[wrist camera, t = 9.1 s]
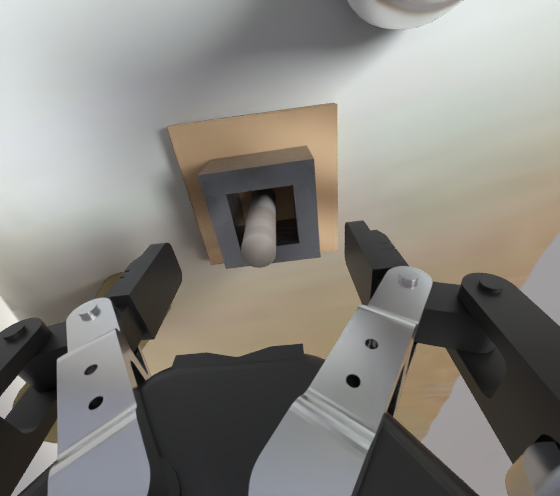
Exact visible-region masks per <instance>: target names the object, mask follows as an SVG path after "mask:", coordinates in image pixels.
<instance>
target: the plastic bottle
mask: <svg viewBox="0 0 560 496" xmlns="http://www.w3.org/2000/svg"><path fill="white" fill-rule="evenodd" d="M347 1H348V3H349V5H350V7H351V8H352V9H353V10H354V11H355V12H356V13H357V15H358V16H359V17H360V18H362V19H363V20H365V21H366V22H368V23H369V24H371V25H374V26H377V27H380V28H386V29H401V30H403V29H410V28H417V27H420V26H422V25H425V24H428V23H430V22H432V21H434V20H436V19H437V18H439V17H441V16H442V15H444V14H445V13H447V12H448V11H450V10H451V9H452V8H454V7H455V6H456V5H458V4H459V3H461V2H462V1H463V0H347Z"/></svg>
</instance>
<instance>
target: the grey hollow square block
mask: <svg viewBox="0 0 560 496" xmlns="http://www.w3.org/2000/svg"><path fill="white" fill-rule="evenodd" d="M198 179H199V182H200V185H201V188H202V192H203V195H204V198H205V202H206V205H207V208H208V211H209V215H210V218H211V221H212V224H213V228H214V231H215V234H216V238H217V241H218V244H219V247H220V251H221V254H222V257H223V261H224V264H225V267H226V269H228V268H236V267H244V266H250V265H248V264H247V263H245V262H244V260H243V259H242V257H241V246H242V242H243V237H244V232H245V227H246V223H245V218H244V214H243V210H242V205H241V201H240V197H239V192H247V191H254V190H261V189H268V188H276V187H283V186H290V185H292V192H293V201H294V209H295V218H293V219H286V220H278V221H276V257H275V259H274V261H273V262H272V263H277V262H285V261H294V260H302V259H310V258H318V257H320V241H319V226H318V210H317V195H316V179H315V164H314V157H313V156H312V154H311V152H310V150H309V148H308V147H307V145H305V146H299V147H292V148H285V149H278V150H271V151H265V152H258V153H251V154H244V155H237V156H230V157H224V158H217V159H211V161H210V162H209V163H208V164H207V165H206V166H205V167H204V168H203V170H202V171H201V172H200V173H199V174H198Z"/></svg>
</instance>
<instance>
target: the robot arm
mask: <svg viewBox="0 0 560 496" xmlns="http://www.w3.org/2000/svg"><path fill="white" fill-rule="evenodd" d="M345 261H346V265H347V268H348V270H349V273H350V275H351V278H352V280H353V282H354V285H355V287H356V290H357V292H358V295H359V297H360V300H361V302H362V304H361V305H360V306H359V307H358V309H357V310H356V312H355V313H354V315H353V317H352V318H351V320H350V322H349V323H348V325H347V326H346V328H345V330H344V331H343V333H342V334H341V336H340V338H339V339H338V341H337V343H336V344H335V346H334V347H333V349H332V351H331V352H330V354H329V355H328V357H327V359H326V360H324V359H322V358H319V357H317V356H313V355H309V354H304V351H303V344H294V345H283V346H272V347H268V348H265V349H262V350H259V351H256V352H253V353H250V354H247V355H243V356H240V357H232V356H225V355H219V354H212V353H197V354H187V355H176V357H175V360H174V362H173V365H172V367H170V368H167V369H165V370H163V371H160V372H159V373H157V374H155V375H153V376H151V374H150V371H149V368H148V366H147V363H146V360H145V358H144V355H143V352H142V350H141V348H140V347H139V343H140V341H141V340H151V339H155V336H156V334H157V332H158V330H159V328H160V326H161V324H162V322H163V320H164V318H165V316H166V313H167V311H168V309H169V307H170V305H171V303H172V301H173V299H174V297H175V295H176V293H177V291H178V288H179V286H180V284H181V282H182V272H181V269H180V266H179V264H178V261H177V259H176V256H175V254H174V251H173V249H172V246H171V245H170V244H169V243H160V244H151V245H150V246H149V247H148V248H147V249H146V251H145V252H144V253H143V254H142V256H140V257H139V258H138V259H136V260H135V261H133V262H132V263H131V264H130V265H129V266H128V267H127V269H126V270H125V272H123V274H122V275H121V276H120V279H118V280H117V281H116V282H115V283H114V285H113V286H112V287H111V288H110V289H109V291H108V292H107V293H106V294H105V296H104V297H103V298H97V299H94V300H91V301H88V302H86V303H84V304H82V305H80V306H79V307H77V308H76V309H75V310H74V311H73V312H72V313H71V314H70V315H69V316H68V318H67V320H66V321H65V322H62V323H59V324H56V325H53V326H49V327H47V326H46V325H45V324H44V323H43V322H42V320H41V319H39V318H29V319H25V320H22V321H20V322H17V323H15V324H13V325H11V326H9V327H8V328H6V329H5V330H3V331H2V332H0V396H1V395H2V393H3V392H4V391H5V390H6V389H7V388H8V386H9V385H10V384H11V383H12V381H13V380H14V379H15V378H16V376H18V375H19V376H20V377H21V378H22V379H23V380H24V381H25V382H26V383H28V384H29V385H30V387H29V388H28V389H27V390H26V392H25V393H24V394H23V396H22V397H21V398H20V400H19V401H18V402H17V404H16V405H15V406H14V407H13V409H12V410H11V411H10V413H9V414H8V415H7V417H6V418H5V419H3V418H1V417H0V496H11V494H12V492H13V491H14V489H15V487H16V486H17V484H18V483H19V481H20V479H21V478H22V476H23V474H24V473H25V471H26V469H27V468H28V466H29V464H30V463H31V461H32V459H33V458H34V456H35V454H36V453H37V451H38V450H39V448H40V446H41V445H42V443H43V441H44V440H45V438H46V436H47V435H48V433H49V431H50V430H51V428H52V426H53V425H54V423H55V421H56V420H57V432H58V456H57V460H56V461H55V462H54V463H53V464H52V465H51V466H50V467H48V468H47V469H46V470H45V471H44V472H43V473H42V474H41V475H39V476H38V477H37V478H36V479H35V480H34V481H33V482H32V483H31V484H30V485H28V486H27V487H26V488H25V489H24V490H23V491H22V492H21V493H20V494H19V495H17V496H479V495H478V494H477V493H475V492H474V490H472V489H471V488H470V487H469V486H468V485H467V484H466V483H465V482H464V481H463V480H462V479H460V478H459V477H458V476H457V475H456V474H455V473H454V472H452V471H451V470H450V469H449V468H448V467H447V466H446V465H445V464H444V463H443V462H442V461H441V460H440V459H439V458H437V457H436V456H435V455H434V454H433V453H432V452H431V451H430V450H428V448H426V447H425V446H424V445H423V444H422V443H421V442H420V441H419V440H418V439H417V438H416V437H414V436H413V435H412V434H411V433H410V432H409V431H408V430H407V429H406V428H405V427H403V426H402V425H401V424H400V423H399V422H398V421H397V420H396V419H395V418H394V416H395V413H396V410H397V407H398V404H399V400H400V397H401V393H402V390H403V387H404V383H405V380H406V377H407V374H408V371H409V368H410V365H411V362H412V359H413V356H414V353H415V351H416V348H417V345H418V343H422V344H428V345H433V346H439V347H445V348H446V349H447V351H448V353H449V355H450V356H451V358H452V360H453V362H454V363H455V365H456V367H457V368H458V370H459V372H460V374H461V375H462V377H463V379H464V380H465V382H466V384H467V386H468V388H469V389H470V391H471V393H472V394H473V396H474V397H475V400H476V401H477V403H478V405H479V407H480V408H481V410H482V411H483V413H484V415H485V417H486V418H487V420H488V422H489V424H490V425H491V427H492V429H493V431H494V432H495V434H496V436H497V438H498V439H499V441H500V443H501V444H502V446H503V448H504V450H505V451H506V453H507V455H508V456H509V458H510V460H511V462H512V463H513V465H512V466H511V467H510V469H509V470H508V472H507V474H506V480H505V483H506V490H507V494H508V496H560V326H559V325H557V323H555V322H554V321H553V320H552V319H551V318H550V317H549V316H548V315H547V314H545V313H544V312H543V311H542V310H541V309H540V308H539V307H538V306H537V305H535V304H534V303H533V302H532V301H531V300H530V299H529V298H528V297H527V296H526V295H524V294H523V293H522V292H521V291H520V290H519V289H518V288H517V287H516V286H515V285H513V284H512V283H511V282H509V281H507V280H505V279H504V278H501V277H499V276H495V275H492V274H487V273H471V274H468V275H466V276H465V277H464V278H463V279H462V282H461V285H456V284H447V283H438V282H433V281H432V279H431V277H430V276H429V275H428V274H427V273H426V272H424V271H422V270H420V269H418V268H414V267H410V266H409V265H408V264H407V263H406V261H405V260H404V259H403V257H402V256H401V255H400V253H399V252H398V251H397V249H395V247H394V245H393V244H392V243H391V241H390V240H389V239H388V237H387V236H386V235H385V234H383V233H381V232H379V231H378V230H371V231H370V229H369V228H368V226H367V225H366V223H365V222H364V221H363V220H362V221H354V222H346V224H345Z"/></svg>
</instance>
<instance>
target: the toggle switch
mask: <svg viewBox="0 0 560 496" xmlns="http://www.w3.org/2000/svg"><path fill="white" fill-rule="evenodd" d="M167 129H168V132H169V135H170V138H171V141H172V145H173V148H174V151H175V154H176V157H177V160H178V163H179V166H180V170H181V173H182V176H183V179H184V182H185V185H186V188H187V191H188V194H189V198H190V201H191V204H192V207H193V210H194V213H195V216H196V219H197V223H198V226H199V229H200V232H201V235H202V238H203V241H204V244H205V247H206V251H207V254H208V257H209V260H210V263H211V265H213V264H222V263H224V261H223V257H222V254H221V251H220V247H219V244H218V241H217V238H216V234H215V231H214V228H213V224H212V221H211V218H210V215H209V211H208V208H207V205H206V202H205V198H204V195H203V192H202V188H201V185H200V182H199V179H198V174H199V173H200V172H201V171H202V170H203V168H204V167H205V166H206V165H207V164H208V163H209V162H210V161H211V159H217V158H224V157H230V156H237V155H244V154H251V153H258V152H265V151H271V150H278V149H285V148H292V147H299V146H305V145H307V147H308V148H309V150H310V152H311V154H312V156H313V157H314V164H315V179H316V195H317V210H318V226H319V241H320V253H321V252H331V251H338V181H337V104H335V103H329V104H321V105H314V106H307V107H300V108H293V109H285V110H278V111H271V112H264V113H256V114H249V115H242V116H235V117H227V118H220V119H213V120H206V121H198V122H191V123H184V124H177V125H172V126H169V127H167ZM239 197H240V201H241V205H242V210H243V214H244V218H245V223H246V227H245V232H244V237H243V242H242V246H241V257H242V259H243V260H244V262H245V263H247V264H248V265H250V266H252V267H258V268H259V267H265V266H268V265H269V264H271V263H272V262H273V261H274V259H275V257H276V221H278V220H286V219H293V218H295V209H294V201H293V192H292V185H290V186H283V187H276V188H268V189H261V190H254V191H247V192H239Z"/></svg>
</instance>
